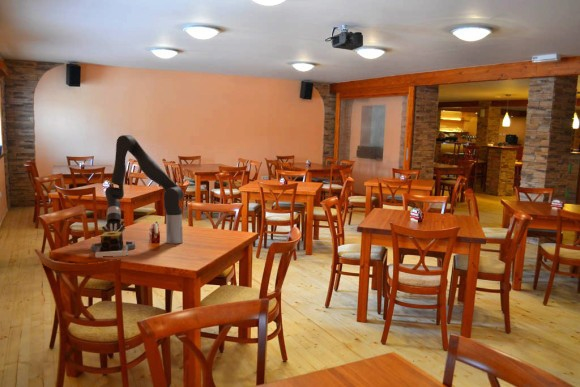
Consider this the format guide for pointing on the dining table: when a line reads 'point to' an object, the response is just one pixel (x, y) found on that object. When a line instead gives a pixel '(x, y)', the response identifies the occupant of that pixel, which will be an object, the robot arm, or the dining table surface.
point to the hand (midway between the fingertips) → (113, 241)
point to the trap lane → (97, 248)
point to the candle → (111, 241)
